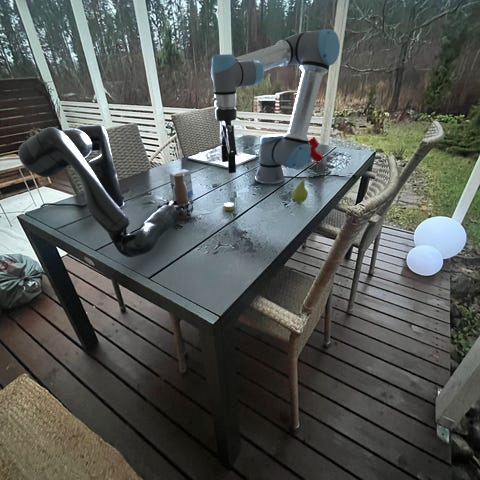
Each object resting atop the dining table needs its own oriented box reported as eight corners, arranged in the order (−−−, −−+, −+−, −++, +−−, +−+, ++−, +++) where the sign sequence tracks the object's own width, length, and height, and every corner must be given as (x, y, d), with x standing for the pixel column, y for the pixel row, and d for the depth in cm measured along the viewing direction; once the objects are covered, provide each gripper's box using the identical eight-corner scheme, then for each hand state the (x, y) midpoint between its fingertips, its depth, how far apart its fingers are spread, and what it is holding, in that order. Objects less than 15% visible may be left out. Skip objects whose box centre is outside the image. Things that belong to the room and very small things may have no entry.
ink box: (187, 192, 132) (184, 168, 125) (193, 195, 129) (190, 170, 122) (172, 197, 127) (168, 172, 120) (178, 200, 124) (174, 175, 117)
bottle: (191, 217, 110) (187, 175, 100) (181, 220, 108) (175, 177, 98) (187, 213, 113) (181, 171, 104) (176, 216, 111) (170, 174, 101)
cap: (229, 205, 119) (229, 201, 118) (236, 208, 116) (236, 204, 115) (221, 208, 117) (221, 204, 115) (228, 212, 114) (228, 207, 113)
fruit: (288, 200, 123) (290, 174, 116) (302, 197, 125) (305, 172, 119) (296, 206, 118) (299, 179, 111) (310, 203, 120) (314, 177, 114)
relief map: (229, 168, 161) (229, 160, 158) (188, 158, 179) (187, 150, 176) (255, 158, 179) (255, 150, 177) (215, 150, 197) (215, 142, 194)
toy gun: (326, 156, 168) (314, 136, 164) (326, 158, 165) (313, 137, 161) (301, 172, 178) (289, 152, 174) (300, 174, 175) (288, 154, 171)
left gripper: (180, 212, 92) (201, 193, 105) (143, 207, 95) (168, 189, 109) (183, 231, 96) (202, 210, 110) (147, 225, 99) (170, 206, 113)
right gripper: (210, 103, 105) (214, 158, 116) (221, 113, 84) (225, 179, 96) (229, 102, 106) (231, 156, 118) (244, 112, 86) (245, 176, 97)
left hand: (185, 200), depth 109 cm, fingers open, 5 cm apart
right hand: (228, 167), depth 107 cm, fingers open, 13 cm apart
